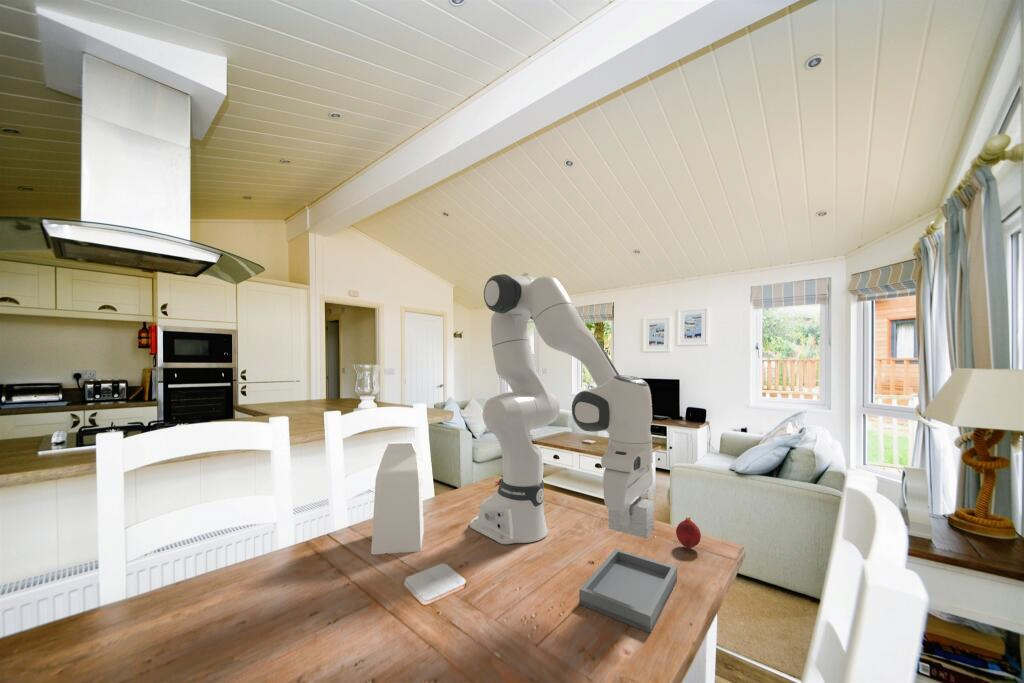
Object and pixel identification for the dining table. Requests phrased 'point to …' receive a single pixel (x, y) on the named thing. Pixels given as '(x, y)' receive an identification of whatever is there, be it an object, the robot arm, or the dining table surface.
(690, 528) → the onion
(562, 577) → the dining table surface
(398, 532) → the milk
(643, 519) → the block
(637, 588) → the tray
